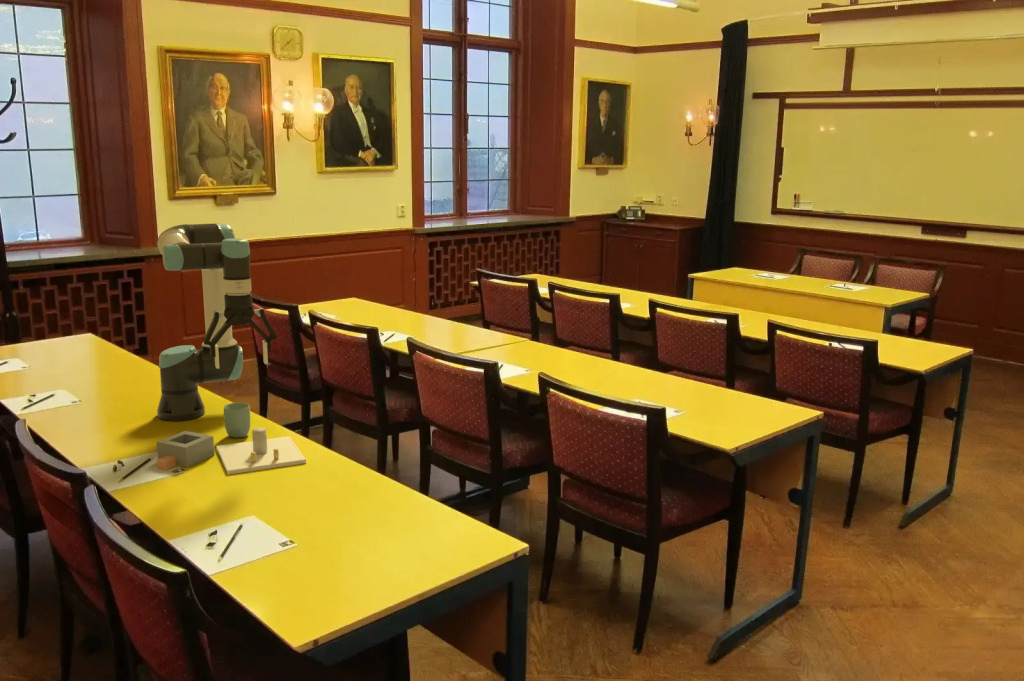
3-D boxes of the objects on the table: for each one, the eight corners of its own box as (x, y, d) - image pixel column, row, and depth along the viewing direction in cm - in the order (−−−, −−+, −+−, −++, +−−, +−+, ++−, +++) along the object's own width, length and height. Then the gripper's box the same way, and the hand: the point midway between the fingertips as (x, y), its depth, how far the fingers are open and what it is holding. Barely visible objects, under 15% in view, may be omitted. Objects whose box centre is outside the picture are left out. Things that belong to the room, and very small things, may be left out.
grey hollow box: (186, 449, 254) (184, 430, 253) (214, 455, 250) (213, 436, 248) (147, 465, 240) (145, 446, 239) (176, 472, 236) (175, 452, 235)
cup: (243, 441, 262) (241, 410, 260) (220, 438, 264) (218, 408, 261) (255, 433, 270) (254, 403, 267) (233, 431, 271) (231, 401, 269)
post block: (216, 449, 254) (215, 423, 253) (289, 439, 264) (288, 415, 262) (227, 474, 235) (226, 447, 233) (306, 463, 245) (305, 436, 243)
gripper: (193, 298, 230) (198, 372, 235) (285, 292, 241) (287, 364, 246) (190, 293, 236) (194, 366, 241) (279, 288, 247) (282, 358, 252)
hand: (241, 365), depth 243 cm, fingers open, 13 cm apart
